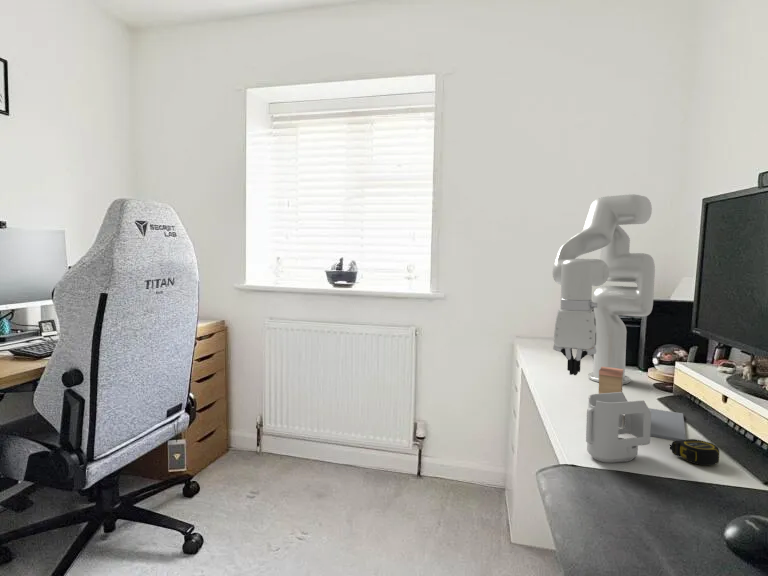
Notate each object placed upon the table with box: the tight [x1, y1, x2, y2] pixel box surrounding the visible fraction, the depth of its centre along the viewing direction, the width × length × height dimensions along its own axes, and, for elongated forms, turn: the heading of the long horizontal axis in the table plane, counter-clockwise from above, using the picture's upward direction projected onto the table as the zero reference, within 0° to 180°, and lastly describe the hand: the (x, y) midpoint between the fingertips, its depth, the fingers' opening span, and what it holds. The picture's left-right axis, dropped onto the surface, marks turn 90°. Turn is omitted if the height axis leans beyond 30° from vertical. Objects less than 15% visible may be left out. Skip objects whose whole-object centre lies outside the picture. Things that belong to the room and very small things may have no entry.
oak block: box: [598, 367, 624, 394], centre depth 114 cm, size 5×5×12 cm
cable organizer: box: [585, 391, 651, 464], centre depth 90 cm, size 7×13×12 cm, turn 103°
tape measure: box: [669, 438, 720, 466], centre depth 89 cm, size 7×7×4 cm
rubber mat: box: [648, 407, 687, 441], centre depth 109 cm, size 20×12×1 cm, turn 147°
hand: (573, 373), depth 119 cm, fingers closed
